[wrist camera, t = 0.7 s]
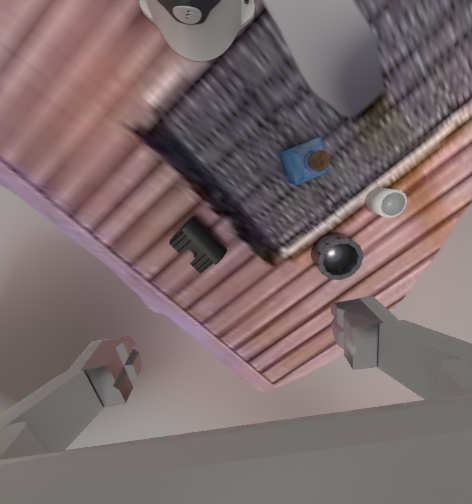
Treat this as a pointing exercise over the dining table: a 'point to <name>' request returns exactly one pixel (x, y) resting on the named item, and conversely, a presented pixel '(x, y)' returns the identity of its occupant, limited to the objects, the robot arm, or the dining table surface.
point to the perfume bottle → (305, 161)
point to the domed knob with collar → (336, 256)
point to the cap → (386, 202)
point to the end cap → (198, 244)
